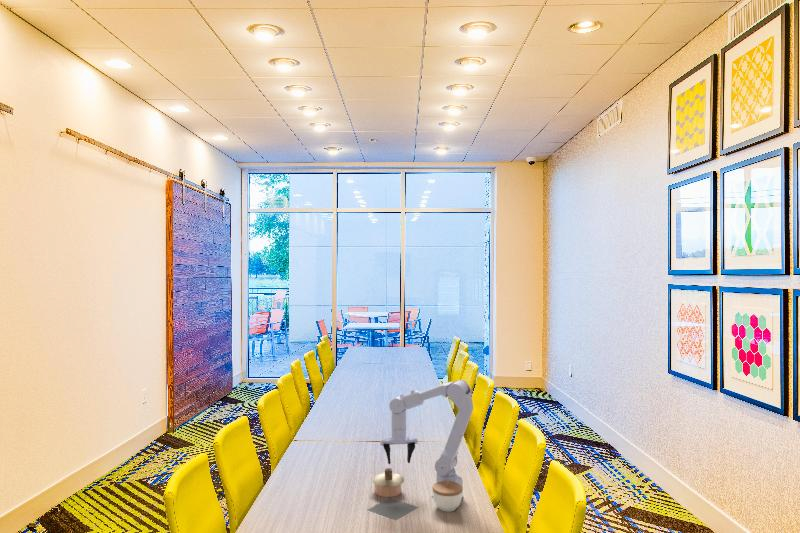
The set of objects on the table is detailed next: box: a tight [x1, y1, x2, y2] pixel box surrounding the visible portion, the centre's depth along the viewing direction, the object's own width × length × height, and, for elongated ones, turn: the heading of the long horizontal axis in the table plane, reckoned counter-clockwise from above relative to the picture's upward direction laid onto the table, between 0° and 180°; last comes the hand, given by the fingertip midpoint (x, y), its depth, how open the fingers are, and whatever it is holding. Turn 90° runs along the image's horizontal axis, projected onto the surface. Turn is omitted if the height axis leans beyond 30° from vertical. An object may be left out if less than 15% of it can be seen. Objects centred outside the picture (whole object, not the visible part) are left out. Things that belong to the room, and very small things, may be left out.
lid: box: [372, 467, 405, 487], centre depth 214 cm, size 12×12×4 cm
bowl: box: [374, 483, 403, 498], centre depth 215 cm, size 10×10×4 cm
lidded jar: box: [432, 481, 464, 513], centre depth 200 cm, size 11×11×9 cm
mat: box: [367, 497, 419, 521], centre depth 199 cm, size 13×13×1 cm
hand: (398, 462), depth 218 cm, fingers open, 7 cm apart
